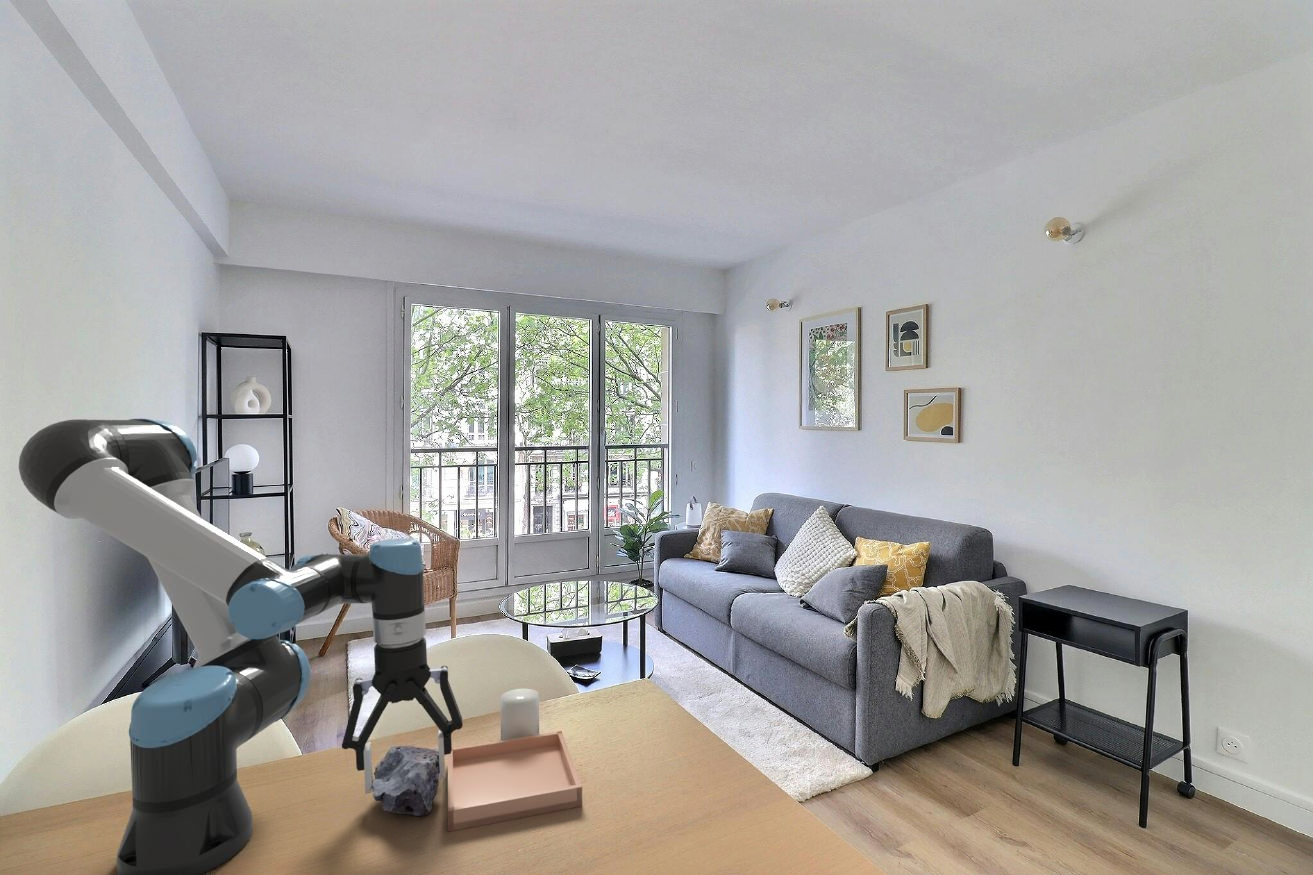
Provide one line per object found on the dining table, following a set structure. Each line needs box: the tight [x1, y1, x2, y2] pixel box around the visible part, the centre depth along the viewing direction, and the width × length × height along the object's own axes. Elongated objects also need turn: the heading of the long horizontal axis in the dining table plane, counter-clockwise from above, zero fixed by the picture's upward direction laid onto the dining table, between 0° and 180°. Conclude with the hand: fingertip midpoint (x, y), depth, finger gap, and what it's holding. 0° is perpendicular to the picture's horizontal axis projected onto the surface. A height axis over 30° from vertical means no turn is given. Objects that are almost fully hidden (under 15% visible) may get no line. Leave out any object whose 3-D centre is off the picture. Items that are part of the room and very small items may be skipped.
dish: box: [447, 730, 583, 832], centre depth 104 cm, size 20×19×3 cm
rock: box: [371, 745, 440, 817], centre depth 100 cm, size 14×10×10 cm
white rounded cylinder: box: [499, 688, 540, 740], centre depth 119 cm, size 7×7×8 cm
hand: (406, 781), depth 100 cm, fingers open, 10 cm apart
